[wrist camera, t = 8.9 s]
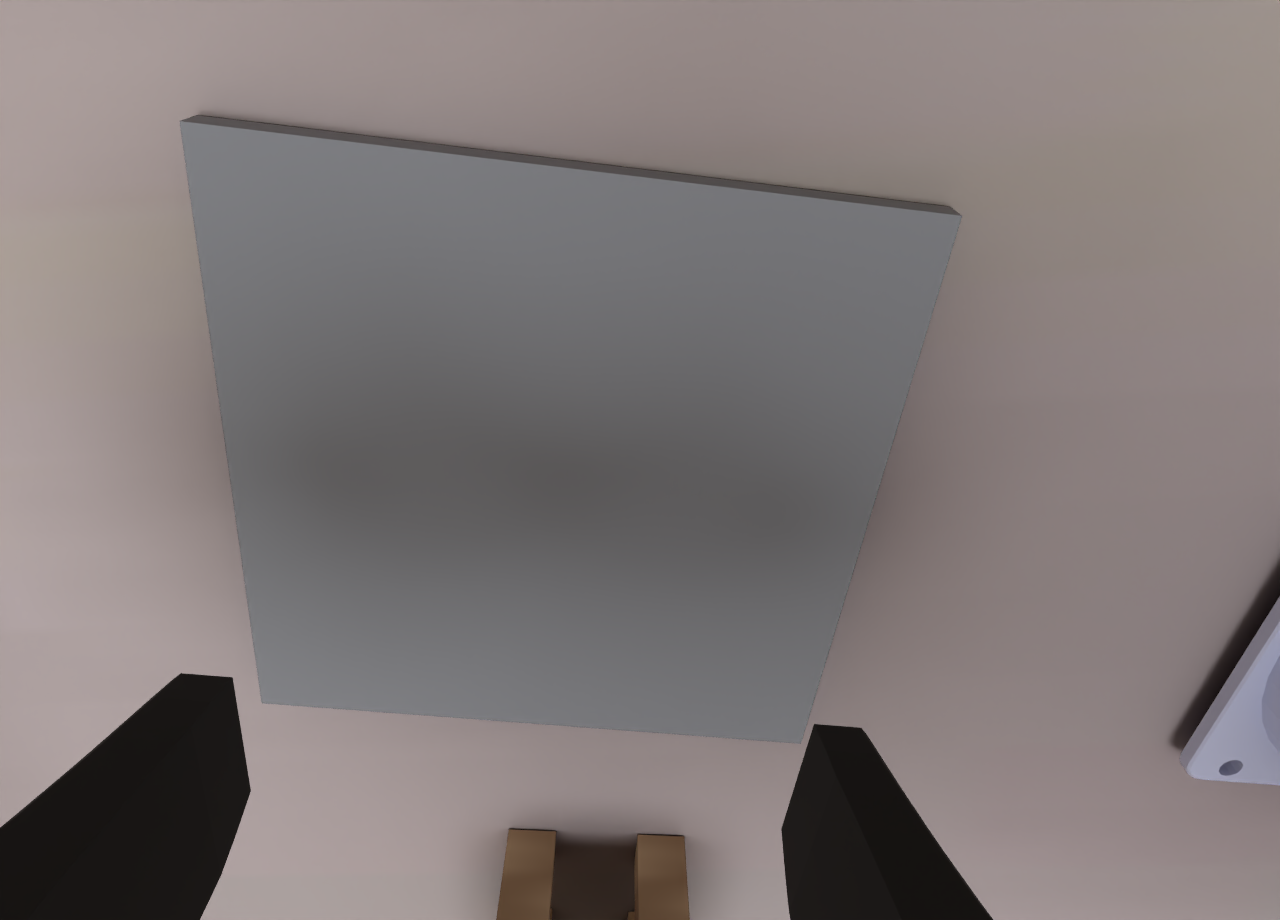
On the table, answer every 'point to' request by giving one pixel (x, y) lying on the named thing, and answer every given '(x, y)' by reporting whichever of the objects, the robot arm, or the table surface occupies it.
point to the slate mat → (549, 424)
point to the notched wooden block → (532, 873)
